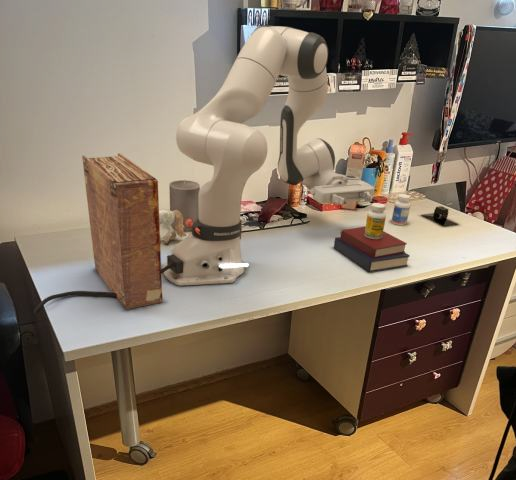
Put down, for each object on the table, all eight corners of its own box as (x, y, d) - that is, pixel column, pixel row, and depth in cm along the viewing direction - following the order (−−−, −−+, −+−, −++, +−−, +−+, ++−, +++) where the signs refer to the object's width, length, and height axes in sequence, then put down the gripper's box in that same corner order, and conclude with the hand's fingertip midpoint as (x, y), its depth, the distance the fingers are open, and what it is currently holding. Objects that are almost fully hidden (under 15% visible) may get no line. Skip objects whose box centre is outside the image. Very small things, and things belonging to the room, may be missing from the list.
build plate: (458, 225, 193) (461, 212, 190) (443, 227, 190) (446, 214, 187) (435, 213, 202) (438, 201, 200) (420, 215, 199) (422, 203, 197)
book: (95, 269, 144) (81, 154, 128) (128, 263, 149) (119, 152, 132) (126, 310, 126) (115, 183, 110) (163, 302, 131) (157, 179, 114)
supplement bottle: (377, 233, 162) (383, 201, 157) (385, 239, 158) (391, 207, 153) (360, 233, 161) (366, 202, 155) (368, 240, 156) (374, 208, 151)
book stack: (368, 272, 153) (372, 251, 149) (333, 248, 167) (336, 228, 164) (407, 266, 158) (412, 245, 155) (370, 243, 172) (373, 223, 169)
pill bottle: (388, 220, 192) (393, 193, 187) (401, 219, 194) (407, 193, 189) (396, 225, 188) (401, 198, 183) (409, 225, 190) (415, 197, 184)
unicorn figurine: (118, 241, 162) (114, 198, 154) (179, 234, 169) (178, 192, 162) (124, 250, 156) (120, 205, 149) (187, 242, 164) (186, 199, 157)
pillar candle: (173, 220, 180) (171, 175, 172) (201, 222, 180) (201, 177, 172) (167, 230, 172) (166, 183, 164) (198, 232, 172) (197, 185, 164)
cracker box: (356, 210, 200) (365, 153, 189) (340, 208, 201) (348, 151, 189) (358, 200, 211) (366, 145, 200) (342, 198, 212) (350, 143, 201)
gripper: (306, 180, 167) (329, 192, 157) (360, 176, 175) (386, 188, 165) (304, 199, 171) (327, 213, 160) (357, 195, 179) (382, 208, 168)
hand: (357, 200), depth 163 cm, fingers open, 8 cm apart
